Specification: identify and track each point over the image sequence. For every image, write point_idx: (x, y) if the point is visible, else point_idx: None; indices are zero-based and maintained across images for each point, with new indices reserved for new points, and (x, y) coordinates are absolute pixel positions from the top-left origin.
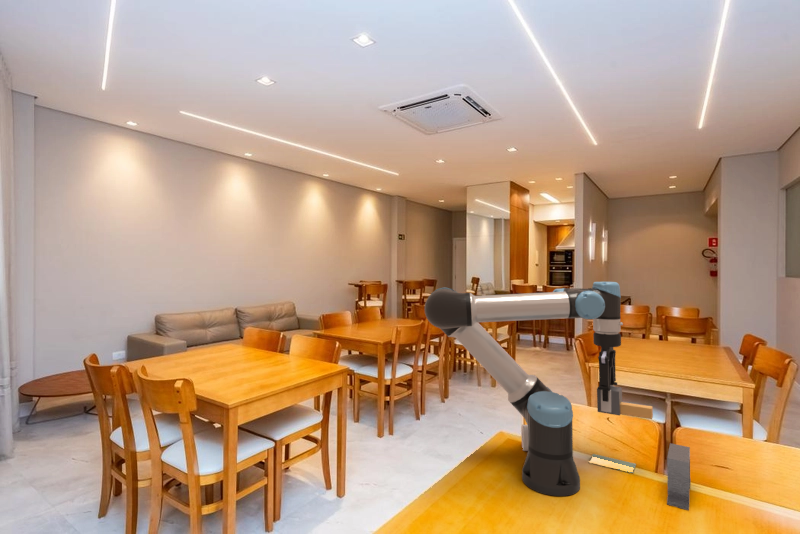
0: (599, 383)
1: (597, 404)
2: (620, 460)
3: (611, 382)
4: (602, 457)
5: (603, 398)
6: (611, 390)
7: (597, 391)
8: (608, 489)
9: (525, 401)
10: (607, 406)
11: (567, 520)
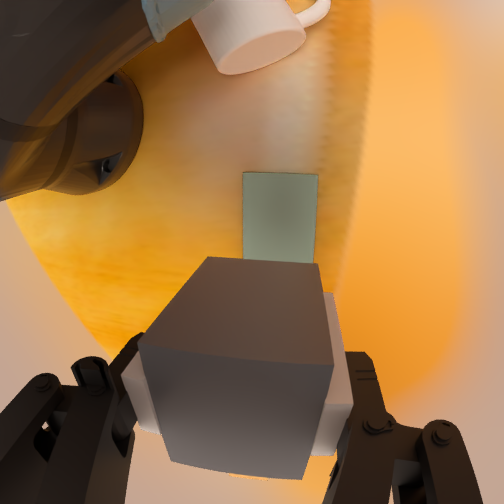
0: (14, 401)
1: (193, 275)
2: (311, 255)
3: (338, 465)
4: (304, 205)
5: (129, 348)
6: (168, 434)
7: (151, 331)
8: (130, 244)
9: None
10: None
11: (18, 204)
